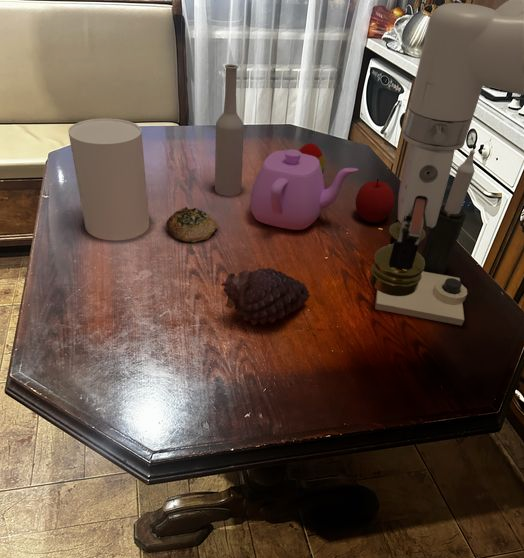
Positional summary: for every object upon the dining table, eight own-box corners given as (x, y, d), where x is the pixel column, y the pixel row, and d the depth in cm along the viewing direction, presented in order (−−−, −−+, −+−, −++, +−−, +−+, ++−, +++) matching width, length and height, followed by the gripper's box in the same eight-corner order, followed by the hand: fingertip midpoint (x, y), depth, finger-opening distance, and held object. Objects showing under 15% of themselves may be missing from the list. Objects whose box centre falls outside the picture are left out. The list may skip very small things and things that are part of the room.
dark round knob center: (458, 287, 98) (461, 279, 97) (459, 296, 96) (462, 288, 95) (442, 284, 99) (445, 276, 98) (443, 293, 97) (445, 285, 95)
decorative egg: (292, 173, 138) (297, 136, 131) (322, 177, 137) (328, 140, 131) (289, 186, 132) (293, 147, 125) (320, 190, 131) (326, 152, 125)
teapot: (234, 232, 113) (237, 165, 103) (263, 193, 128) (268, 131, 118) (335, 255, 109) (348, 188, 99) (352, 212, 124) (365, 150, 114)
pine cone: (289, 285, 99) (318, 260, 91) (300, 333, 96) (331, 311, 88) (206, 280, 90) (230, 252, 82) (215, 333, 87) (241, 309, 79)
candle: (415, 270, 107) (454, 150, 90) (424, 259, 110) (463, 142, 93) (438, 279, 105) (482, 158, 88) (447, 268, 108) (491, 150, 91)
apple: (396, 227, 120) (407, 186, 113) (360, 228, 118) (369, 187, 111) (381, 208, 127) (391, 168, 120) (347, 209, 125) (354, 169, 118)
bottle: (244, 194, 127) (250, 69, 108) (218, 197, 125) (220, 70, 106) (236, 183, 131) (241, 61, 112) (211, 185, 129) (212, 61, 110)
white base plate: (459, 284, 104) (464, 271, 102) (464, 326, 94) (470, 313, 92) (378, 269, 106) (382, 256, 104) (374, 309, 96) (378, 296, 94)
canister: (145, 207, 118) (137, 117, 105) (153, 237, 109) (145, 142, 95) (83, 211, 115) (67, 119, 101) (87, 243, 105) (69, 145, 92)
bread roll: (166, 216, 115) (168, 196, 112) (215, 223, 118) (218, 203, 114) (164, 244, 108) (166, 223, 104) (216, 250, 110) (220, 230, 107)
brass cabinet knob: (422, 299, 75) (442, 239, 68) (372, 296, 75) (387, 236, 68) (412, 270, 80) (429, 212, 74) (365, 268, 80) (378, 209, 73)
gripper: (474, 158, 55) (428, 294, 68) (461, 109, 68) (424, 232, 80) (404, 148, 56) (371, 284, 68) (404, 102, 69) (376, 224, 81)
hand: (400, 255), depth 74 cm, fingers closed on brass cabinet knob, 5 cm apart
